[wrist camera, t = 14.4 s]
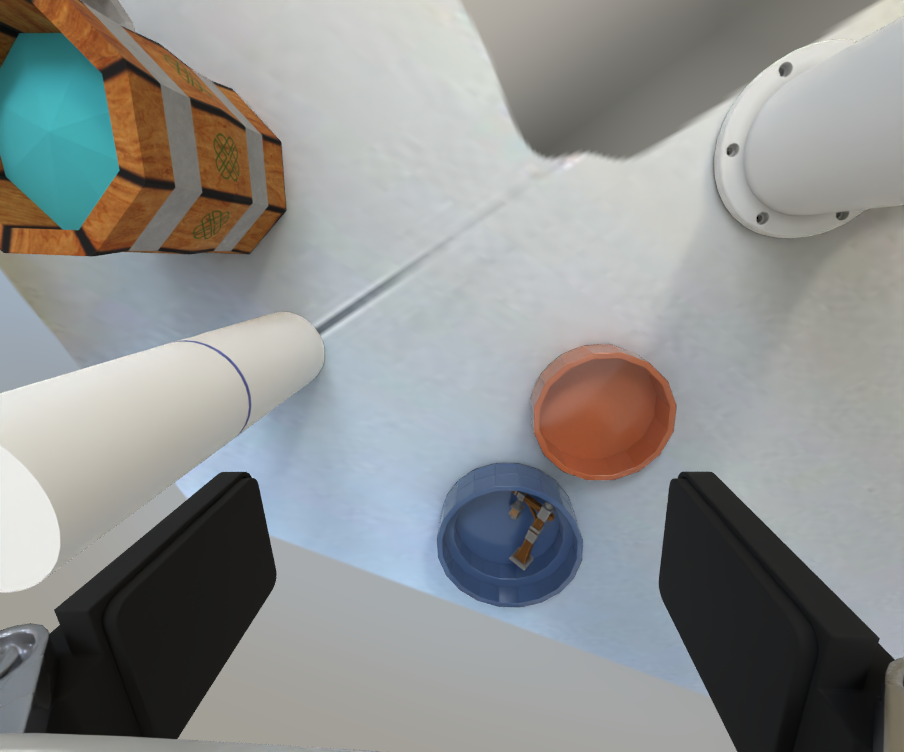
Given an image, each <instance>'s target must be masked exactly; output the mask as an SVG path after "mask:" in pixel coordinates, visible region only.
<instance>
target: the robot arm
mask: <svg viewBox="0 0 904 752" xmlns="http://www.w3.org/2000/svg"><path fill="white" fill-rule="evenodd" d="M779 72H780V75H779ZM727 149H728V150H729V155H727V152H726V150H727ZM714 167H715V179H716V184H717V188H718V192H719V194H720V196H721V199H722V201H723V203H724V205H725V207H726V208H727V209H728V211H729V212H730V213H731V214H732V216H733V217H734V218H735V219H736V220H737V221H739V222H740V223H741V224H742V225H744V226H745V227H746V228H748V229H750V230H752V231H754V232H756V233H758V234H762V235H766V236H770V237H775V238H799V237H809V236H813V235H817V234H822V233H825V232H827V231H830V230H832V229H835V228H837V227H840V226H842V225H843V224H845V223H847V222H848V221H850V220H852V219H853V218H855V217H857V216H858V215H859V214H861V213H862V212H863V211H864V210H865V209H871V208H880V207H889V206H899V205H904V16H902V17H900V18H898V19H896V20H895V21H893V22H891V23H889V24H888V25H886V26H884V27H882V28H881V29H879V30H877V31H875V32H873V33H872V34H870V35H868V36H866V37H865V38H863V39H861V40H859V41H856V40H843V39H832V40H827V41H822V42H817V43H812V44H810V45H807V46H805V47H802V48H800V49H797V50H795V51H793V52H791V53H789V54H788V55H786V56H784V57H783V58H781V59H779V60H778V61H776V62H775V63H773V64H772V65H771V66H769V67H768V68H767V69H765V70H764V71H762V72H761V73H760V74H759V75H758V76H757V77H756V78H755V79H754V80H752V81H751V82H750V83H749V84H748V85H747V86H746V87H745V89H744V90H743V91H742V93H741V94H740V95H739V97H738V98H737V99H736V101H735V102H734V103H733V105H732V107H731V109H730V111H729V112H728V114H727V116H726V118H725V120H724V122H723V125H722V128H721V131H720V134H719V136H718V139H717V145H716V151H715V157H714ZM757 216H758V221H757V220H756V218H757ZM275 581H276V568H275V563H274V558H273V553H272V548H271V544H270V538H269V534H268V529H267V524H266V519H265V514H264V509H263V504H262V500H261V495H260V490H259V485H258V482H257V480H256V479H254V478H252V477H251V475H250V474H249V473H247V472H221V473H219V474H218V475H217V476H215V477H214V478H213V479H212V480H210V481H209V482H208V483H207V484H206V485H204V486H203V487H202V488H201V489H200V490H198V491H197V492H196V493H195V494H194V495H192V496H191V497H190V498H189V499H188V500H186V501H185V502H184V503H183V504H181V505H180V506H179V507H178V508H177V509H176V510H174V511H173V512H172V513H171V514H169V515H168V516H167V517H166V518H165V519H163V520H162V521H161V522H160V523H159V524H157V525H156V526H155V527H154V528H153V529H151V530H150V531H149V532H148V533H146V534H145V535H144V536H143V537H142V538H140V539H139V540H138V541H137V542H136V543H135V544H133V545H132V546H131V547H130V548H128V549H127V550H126V551H125V552H124V553H122V554H121V555H120V556H119V557H118V558H116V559H115V560H114V561H113V562H111V563H110V564H109V565H108V566H107V567H105V568H104V569H103V570H102V571H101V572H99V573H98V574H97V575H96V576H95V577H93V578H92V579H91V580H90V581H89V582H88V583H86V584H85V585H84V586H83V587H81V588H80V589H79V590H78V591H76V592H75V593H74V594H73V595H72V596H70V597H69V598H68V599H67V600H66V601H64V602H63V603H62V604H61V605H60V606H58V607H57V608H56V609H55V610H54V611H55V613H56V616H57V618H58V621H59V623H60V625H59V626H58V627H57V628H56V629H55V630H54V631H52V632H51V633H50V634H49V632H48V630H47V629H46V628H45V627H44V626H43V625H38V624H31V623H30V624H24V625H17V626H13V627H10V628H7V629H3V630H0V752H377V751H362V750H346V749H331V748H315V747H300V746H284V745H267V744H250V743H232V742H215V741H197V740H181V739H177V738H178V737H179V735H180V734H181V732H182V731H183V729H184V728H185V726H186V724H187V723H188V721H189V720H190V718H191V716H192V715H193V713H194V712H195V710H196V709H197V707H198V706H199V704H200V702H201V701H202V699H203V698H204V696H205V695H206V693H207V691H208V690H209V688H210V687H211V685H212V684H213V682H214V680H215V679H216V677H217V676H218V674H219V672H220V671H221V669H222V668H223V666H224V665H225V663H226V662H227V660H228V659H229V657H230V655H231V654H232V652H233V651H234V649H235V648H236V646H237V644H238V643H239V641H240V640H241V638H242V637H243V635H244V633H245V632H246V630H247V629H248V627H249V626H250V624H251V622H252V621H253V619H254V618H255V616H256V615H257V613H258V611H259V610H260V608H261V607H262V605H263V604H264V602H265V600H266V599H267V597H268V596H269V594H270V593H271V591H272V589H273V587H274V585H275ZM659 589H660V594H661V597H662V600H663V602H664V604H665V606H666V608H667V610H668V612H669V614H670V616H671V618H672V620H673V622H674V624H675V626H676V628H677V630H678V632H679V634H680V636H681V638H682V641H683V643H684V645H685V647H686V649H687V651H688V653H689V655H690V657H691V659H692V661H693V663H694V665H695V667H696V669H697V671H698V673H699V675H700V677H701V679H702V681H703V683H704V685H705V687H706V689H707V691H708V693H709V695H710V697H711V699H712V701H713V703H714V705H715V707H716V709H717V711H718V713H719V715H720V717H721V719H722V721H723V723H724V726H725V728H726V730H727V732H728V733H729V736H730V738H731V740H732V742H733V744H734V746H735V748H736V750H737V752H904V658H899V659H897V660H894V659H893V658H892V656H891V655H890V654H889V653H888V652H887V651H886V650H885V649H884V648H883V647H882V646H881V645H880V644H879V643H878V642H879V639H880V638H879V637H878V636H877V635H876V634H875V633H874V632H873V631H872V630H871V629H870V628H869V627H868V626H867V625H866V624H865V623H864V622H863V621H862V620H861V619H860V618H859V617H858V616H857V615H856V614H855V613H854V612H853V611H852V610H851V609H850V608H849V607H848V606H847V605H846V604H845V603H844V602H843V601H842V600H841V599H840V598H839V597H838V596H837V595H836V594H835V593H834V592H833V591H832V590H831V589H830V588H829V587H828V586H827V585H826V584H825V583H824V582H823V581H822V580H821V579H820V578H818V577H817V576H816V575H815V574H814V573H813V572H812V571H811V570H810V569H809V568H808V567H807V566H806V565H805V564H804V563H803V562H802V561H801V560H800V559H799V558H798V557H797V556H796V555H795V554H794V553H793V552H792V551H791V550H790V549H789V548H788V547H787V546H786V545H785V544H784V543H783V542H782V541H781V540H780V539H779V538H778V537H777V536H776V535H775V534H774V533H773V532H772V531H771V530H770V529H769V528H768V527H767V526H766V525H765V524H764V523H763V522H762V521H761V520H760V519H759V518H758V517H757V516H756V515H755V514H754V513H753V512H752V511H751V510H750V509H749V508H748V507H747V506H746V505H745V504H744V503H743V502H742V501H741V500H740V499H739V498H738V497H737V496H736V495H735V494H734V493H733V492H732V491H731V490H730V489H729V488H728V487H727V486H726V485H725V484H724V483H723V482H722V481H721V480H720V479H719V478H718V477H717V476H716V475H715V474H714V473H712V472H681V473H680V474H679V476H678V479H672V480H671V482H670V486H669V494H668V503H667V512H666V521H665V530H664V539H663V548H662V557H661V565H660V574H659Z"/></svg>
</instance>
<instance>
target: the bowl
mask: <svg viewBox="0 0 904 752" xmlns="http://www.w3.org/2000/svg"><path fill="white" fill-rule="evenodd" d="M511 491H521V492H524V493H528V495H530V496H531V497H532V498H534V499H535V500H536V501H538V502H539V503H540V504H542V505H544V503H545V502H549V503H551V504H552V505H553V507H554V508H555V509H554V510H553V512H552V513H553V514H554V515H555V518H554V520H553V521H551V522H550V521H549V520H547V521H546V522H545V523H544V525H543V527H544V528H543V530H542V531H541V533H540V534H539V536H538V539H537V540H536V541H535V542H534V544H533V547H532V550H531V554H530V555H531V556H532V557H533V561H532V562H531V563H530V564H529V566H528V567H527V568H526V569H525V570H523V569H521V568H520V567H519V566H518V565H516V564H515V563H514V562H513V561H511V560H510V559H509V558H510V557H511V555H512V554H513V553H514V552H515V551H516V550H517V548H518V547H520V548H521V546H522V544H523V543H524V541H525V538H524V537H525V536H526V535H527V533H528V530H529V527H530V526H531V525H532V524H533V523H534V520H535V518H534V516H533V514H532V512H531V510H530V508H529V506H528V505H527V504H526V503H525V502H524V501H523V504H522V505H523V506H524V507H525V508H524V509H523V510H522V511H521V513H520V514H521V515H520V516H519V517H518V518H517V519H515V520H513V519H511V517H510V515H509V514H508V513H509V512H510V511H511V509H512V507H511V505H512V504H513V503H514V502H515V501H517V500H518V498H517V496H516V495H514V493H512V492H511ZM534 510H535V509H534ZM535 512H536V514H537V515H538V513H539V512H537V511H536V510H535ZM437 549H438V558H439V561H440V563H441V565H442V567H443V569H444V572H445V574H446V576H447V577H448V578H449V579H450V580H451V581H452V582H453V583H454V584H455V585H456V586H457V587H458V589H459V590H461V591H462V592H464V593H466V594H467V595H469V596H471V597H472V598H474V599H476V600H478V601H480V602H484V603H487V604H491V605H494V606H499V607H524V606H529V605H533V604H537V603H541V602H544V601H545V600H547V599H549V598H551V597H553V596H555V595H556V594H558V593H560V592H561V591H562V590H563V589H564V588H565V587H566V586H567V585H568V584H569V583H570V582H571V581H572V580H573V579H574V577H575V575H576V573H577V570H578V568H579V566H580V564H581V561H582V551H583V539H582V536H581V533H580V530H579V527H578V524H577V521H576V518H575V514H574V511H573V509H572V506H571V503H570V500H569V497H568V495H567V494H566V493H565V491H564V490H563V489H562V488H561V487H560V485H559V484H558V483H557V482H556V481H555V480H554V479H552V478H551V477H549V476H548V475H546V474H545V473H543V472H541V471H540V470H538V469H536V468H532V467H529V466H525V465H522V464H518V463H496V464H491V465H488V466H484V467H481V468H478V469H475V470H473V471H472V472H470V473H469V474H467V475H466V476H464V477H463V478H461V479H460V480H459V481H457V483H456V484H455V485H454V487H453V488H452V489H451V491H450V492H449V493H448V494H447V496H446V500H445V503H444V506H443V509H442V513H441V518H440V524H439V529H438V535H437Z"/></svg>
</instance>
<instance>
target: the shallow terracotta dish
mask: <svg viewBox="0 0 904 752" xmlns="http://www.w3.org/2000/svg"><path fill="white" fill-rule="evenodd" d="M675 414H676V403H675V400H674V397H673V394H672V392H671V389H670V386H669V383H668V381H667V380H666V379H665V378H664V377H663V376H662V375H661V374H660V373H659V372H658V371H657V370H656V369H655V368H654V367H653V366H652V365H651V364H650V363H649V362H647V361H646V360H645V359H643V358H642V357H640V356H639V355H637V354H636V353H633V352H631V351H628V350H626V349H623V348H620V347H617V346H615V345H603V344H596V345H585V346H582V347H579V348H576V349H573V350H570V351H568V352H566V353H564V354H563V355H560V356H559V357H558V358H557V359H555V360H554V361H553V362H552V363H551V364H549V366H548V367H547V368H546V369H545V370H544V371H543V372H542V373H541V375H540V377H539V379H538V381H537V382H536V384H535V387H534V390H533V393H532V395H531V422H532V426H533V430H534V434H535V436H536V438H537V441H538V443H539V445H540V447H541V449H542V452H543V454H544V455H545V456H546V457H547V458H548V459H549V460H550V461H552V462H553V463H554V464H555V465H556V466H557V467H558V468H559V469H560V470H562V471H563V472H566V473H569V474H571V475H574V476H577V477H580V478H582V479H585V480H615V479H618V478H621V477H624V476H627V475H630V474H633V473H635V472H638V471H640V470H641V469H643V468H644V467H645V466H646V465H648V464H649V463H650V462H651V461H653V460H654V459H655V458H656V457H658V456H659V455H660V454H661V452H662V451H663V449H664V447H665V445H666V444H667V442H668V440H669V439H670V437H671V435H672V433H673V431H674V423H675Z"/></svg>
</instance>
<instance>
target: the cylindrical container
mask: <svg viewBox="0 0 904 752" xmlns="http://www.w3.org/2000/svg"><path fill="white" fill-rule="evenodd" d="M324 358H325V350H324V345H323V342H322V339H321V337H320V335H319V333H318V332H317V330H316V329H315V328H314V326H313V325H312V324H311V323H310V322H308V321H307V320H306V319H304V318H303V317H301V316H299V315H297V314H294V313H290V312H274V313H271V314H268V315H264V316H261V317H257V318H254V319H251V320H247V321H244V322H240V323H237V324H234V325H230V326H227V327H223V328H220V329H217V330H213V331H210V332H206V333H203V334H200V335H196V336H193V337H190V338H186V339H182V340H179V341H175V342H172V343H169V344H165V345H162V346H158V347H155V348H152V349H148V350H145V351H142V352H138V353H135V354H131V355H128V356H125V357H121V358H118V359H114V360H111V361H108V362H104V363H101V364H98V365H94V366H91V367H87V368H84V369H81V370H77V371H74V372H71V373H67V374H64V375H60V376H57V377H54V378H50V379H47V380H43V381H40V382H37V383H33V384H30V385H27V386H23V387H20V388H17V389H13V390H10V391H6V392H3V393H0V592H15V591H20V590H25V589H28V588H30V587H32V586H34V585H36V584H38V583H40V582H41V581H43V580H44V579H45V578H47V577H48V576H49V575H51V574H52V573H53V572H55V571H56V570H57V569H59V568H60V567H61V566H63V565H64V564H66V563H67V562H68V561H69V560H71V559H72V558H74V557H75V556H76V555H78V554H79V553H80V552H82V551H83V550H84V549H86V548H87V547H88V546H90V545H91V544H92V543H94V542H95V541H96V540H98V539H99V538H101V537H102V536H103V535H105V534H106V533H107V532H109V531H110V530H111V529H113V528H114V527H115V526H117V525H118V524H119V523H120V522H122V521H123V520H125V519H126V518H127V517H129V516H130V515H131V514H133V513H134V512H135V511H137V510H138V509H139V508H141V507H142V506H144V505H145V504H146V503H148V502H149V501H150V500H152V499H153V498H154V497H156V496H157V495H158V494H160V493H161V492H162V491H164V490H165V489H166V488H168V487H169V486H171V485H172V484H173V483H175V482H176V481H177V480H179V479H180V478H181V477H183V476H184V475H185V474H187V473H188V472H189V471H191V470H192V469H193V468H195V467H196V466H198V465H199V464H200V463H202V462H203V461H204V460H206V459H207V458H208V457H210V456H211V455H212V454H214V453H215V452H216V451H218V450H219V449H220V448H222V447H223V446H225V445H226V444H227V443H229V442H230V441H231V440H232V439H234V438H235V437H237V436H238V435H239V434H241V433H242V432H243V431H245V430H246V429H247V428H249V427H250V426H251V425H253V424H254V423H255V422H257V421H258V420H259V419H261V418H262V417H264V416H265V415H266V414H268V413H269V412H270V411H272V410H273V409H274V408H276V407H277V406H278V405H280V404H281V403H282V402H284V401H285V400H286V399H288V398H289V397H290V396H292V395H293V394H295V393H296V392H297V391H299V390H300V389H301V388H303V387H304V386H305V385H307V384H308V383H309V382H311V381H312V380H313V379H314V378H315V377H317V375H318V374H319V372H320V371H321V369H322V366H323V364H324Z"/></svg>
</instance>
